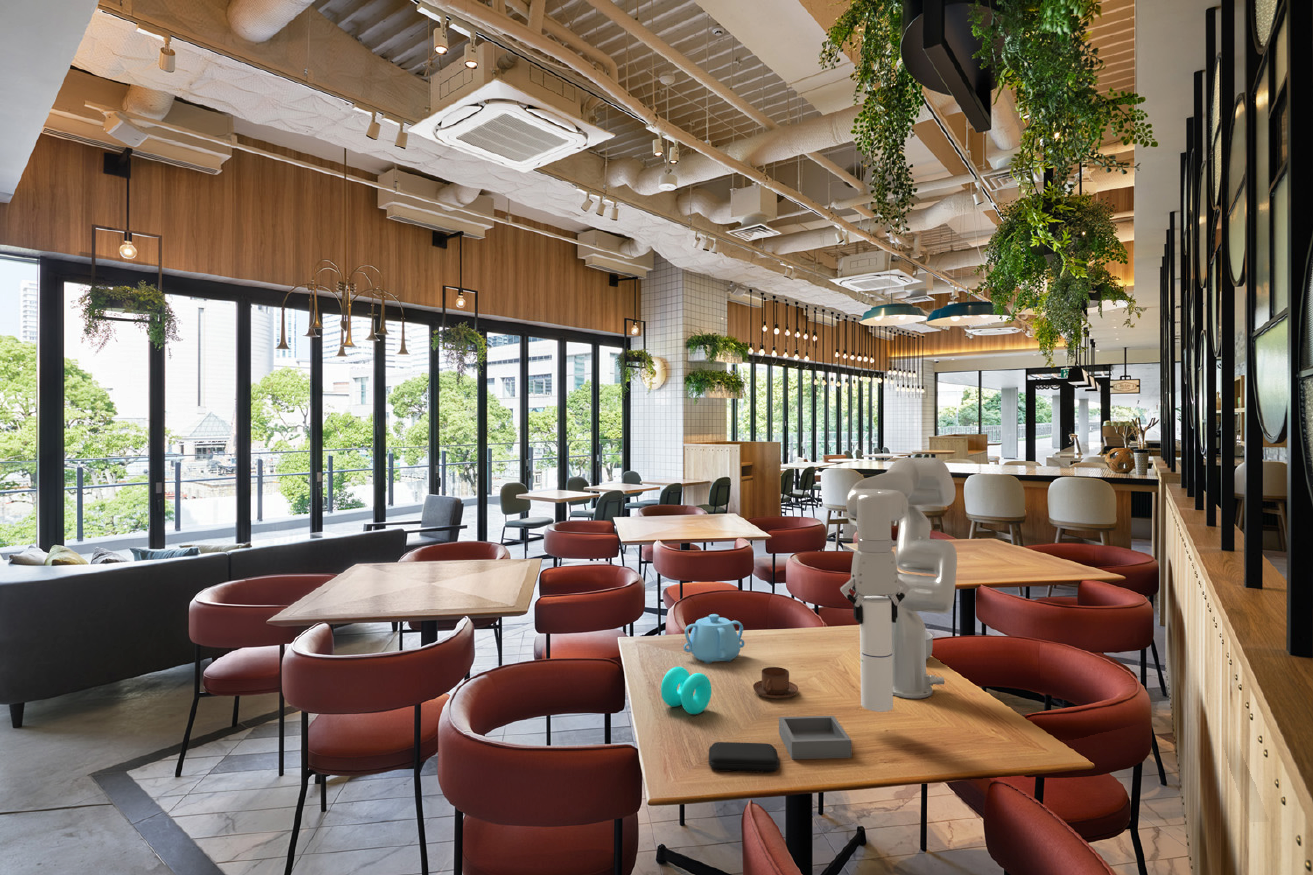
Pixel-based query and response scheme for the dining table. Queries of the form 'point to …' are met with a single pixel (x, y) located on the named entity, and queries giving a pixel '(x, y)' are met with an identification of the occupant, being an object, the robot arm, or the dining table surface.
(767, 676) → the cup and saucer
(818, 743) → the holder tray
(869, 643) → the cylindrical container
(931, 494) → the robot arm
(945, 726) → the dining table surface
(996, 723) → the dining table surface
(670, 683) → the turquoise double ring spool
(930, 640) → the teacup
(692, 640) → the decorative pot
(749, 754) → the carrying case or bag
